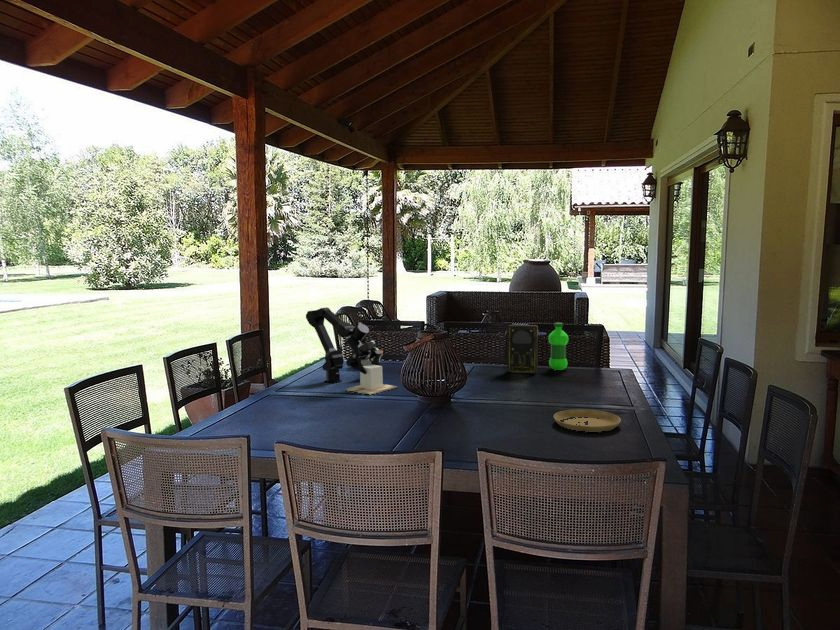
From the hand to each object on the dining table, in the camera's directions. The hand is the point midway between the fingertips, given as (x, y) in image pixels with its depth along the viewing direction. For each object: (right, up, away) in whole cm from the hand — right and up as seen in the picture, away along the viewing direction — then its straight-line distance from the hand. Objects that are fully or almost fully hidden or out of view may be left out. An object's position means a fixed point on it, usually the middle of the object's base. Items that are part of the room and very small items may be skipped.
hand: (373, 372), depth 295 cm
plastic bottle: (+95, -3, +41) cm, 104 cm away
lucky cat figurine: (-7, -2, +59) cm, 59 cm away
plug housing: (-1, -7, +2) cm, 8 cm away
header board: (-1, -8, +2) cm, 9 cm away
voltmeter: (+76, -4, +36) cm, 84 cm away
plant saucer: (+84, -15, -60) cm, 104 cm away
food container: (-2, -6, +28) cm, 29 cm away
